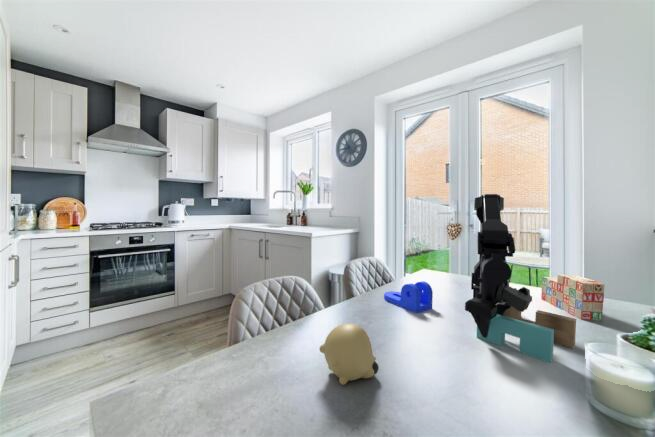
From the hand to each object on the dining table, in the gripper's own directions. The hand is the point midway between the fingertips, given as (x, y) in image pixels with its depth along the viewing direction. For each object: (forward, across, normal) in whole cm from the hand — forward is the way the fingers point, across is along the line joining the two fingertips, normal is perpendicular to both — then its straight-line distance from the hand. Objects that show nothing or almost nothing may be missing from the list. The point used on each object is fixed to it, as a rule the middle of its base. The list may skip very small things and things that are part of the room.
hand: (490, 333), depth 74 cm
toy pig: (+2, -41, +12) cm, 43 cm away
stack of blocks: (+2, +49, -8) cm, 50 cm away
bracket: (+2, +7, +32) cm, 33 cm away
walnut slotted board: (+2, +13, -5) cm, 14 cm away
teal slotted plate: (+2, 0, -5) cm, 5 cm away
